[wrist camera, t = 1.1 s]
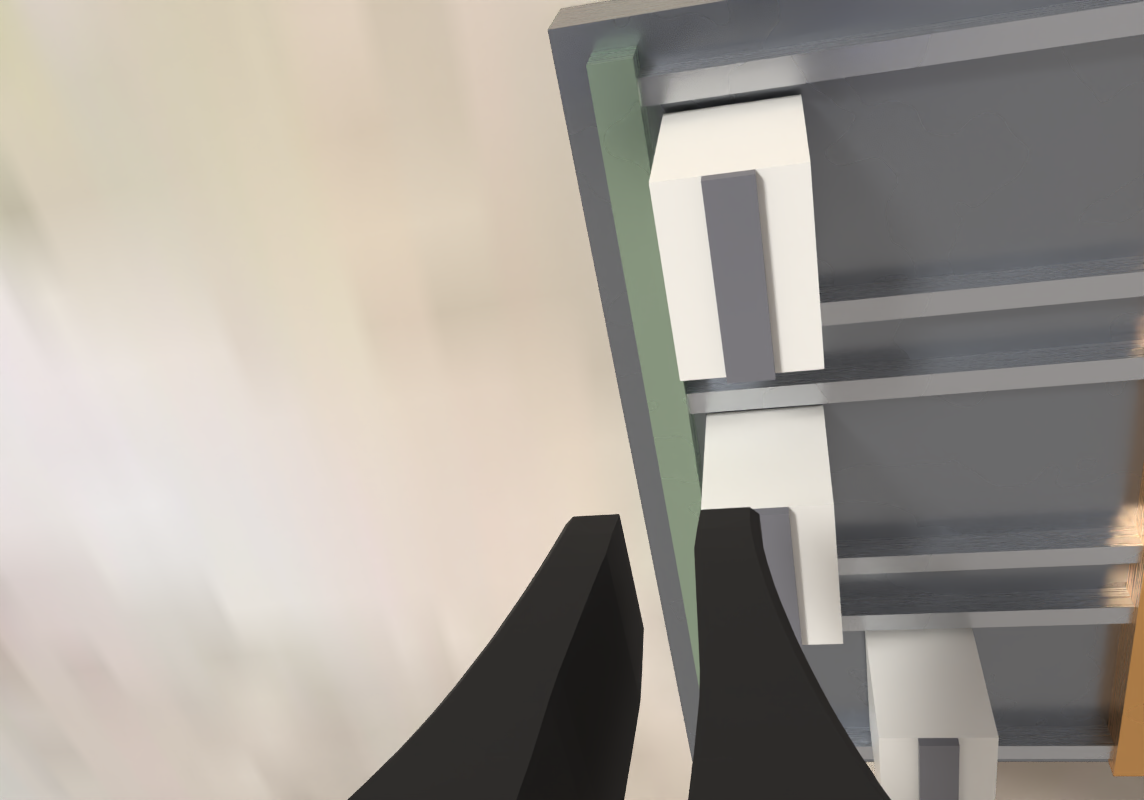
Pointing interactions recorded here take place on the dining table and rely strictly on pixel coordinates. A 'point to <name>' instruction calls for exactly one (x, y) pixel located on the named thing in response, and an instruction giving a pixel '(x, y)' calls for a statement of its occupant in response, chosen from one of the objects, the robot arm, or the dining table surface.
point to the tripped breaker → (930, 715)
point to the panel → (914, 327)
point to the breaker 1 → (738, 240)
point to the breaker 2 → (782, 505)
